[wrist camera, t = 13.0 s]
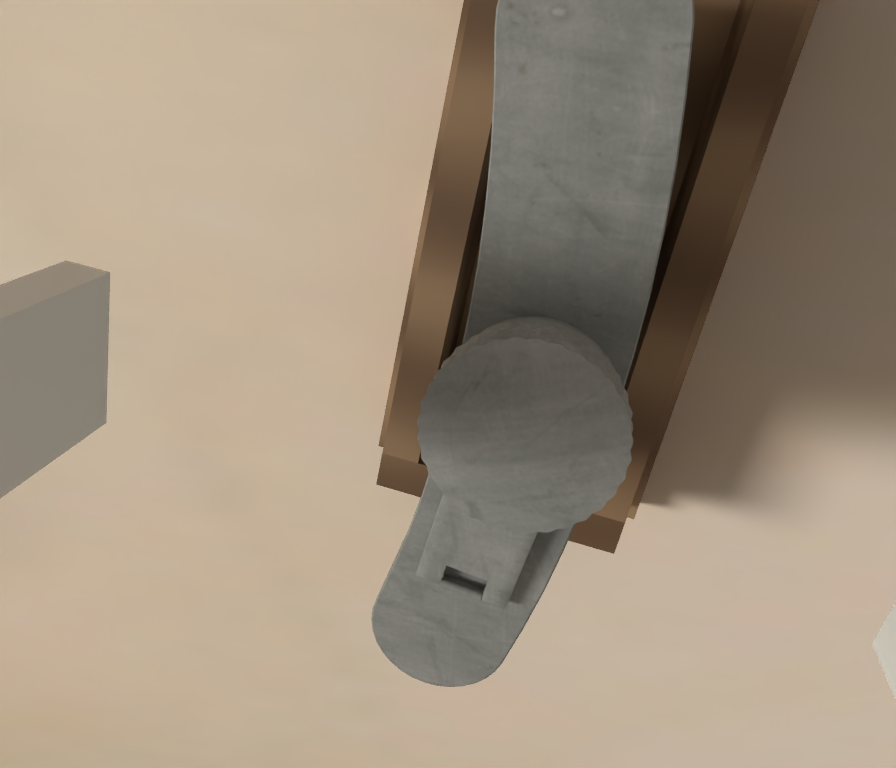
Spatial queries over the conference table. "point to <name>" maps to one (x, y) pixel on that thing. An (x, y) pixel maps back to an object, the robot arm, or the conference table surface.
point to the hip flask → (541, 325)
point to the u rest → (683, 247)
